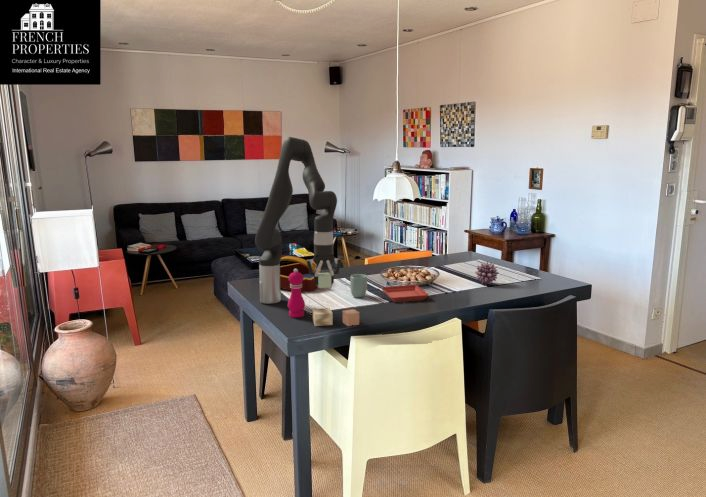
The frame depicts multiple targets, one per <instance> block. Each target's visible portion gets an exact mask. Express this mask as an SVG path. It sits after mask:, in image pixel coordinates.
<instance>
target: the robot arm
mask: <svg viewBox="0 0 706 497" xmlns="http://www.w3.org/2000/svg"><path fill="white" fill-rule="evenodd" d="M291 161H294V162H295V161H296V162H300V163H302V165H303V166H304V168H303V171H302V180H303V183H304V185H305V187H306V189H307V191H308V199H309V205H310V207H311V208H312V209H314V210H315V211H320V210H321V211H322V210H324V212H323V213H322V214H319V215H317V216H315V217H314V222H313V223H314V225H313V226H314V233H313V258H311V259H305V260H306V262H307V266H308V270H309V273H310V275H313V276H314V283H315V284H316V286H318V273H319V271H320V269H321V270H322V269H328V272H329V273H330V274H331V286H333V284H334V282H335V279H334V278H335V275H338V274H339V273H340V269H341V264H342V260H341V258H338V257H337V258H336V257H335V256H334V233H333V231H334V230H333V229H334V228H333V226H334V224H333V220H334V217H335V212H336V209H337V203H338V197H337V195H336V193H335V191H332V190H325V189H326V183H325V182H324V180H323V178H322V176H321V174H320V172H319V170H318V168H317V164H316V161H315V158H314V153H313V150H312V147H311V145H310V143H309V142H308V141H307V140H305V139H301V138H297V137H293V136H287V137H286V138H285V139H284V140H283V142H282V144H281V149H280V155H279V158H278V163H277V169H276V172H275V175H274V179H273V183H272V186H271V189H270V192H269V195H268V200H267V203H266V206H265V209H264V212H263V215H262V219H261V221H260V224H259V227H258V229H257V230H256V233H255V238H254V244H255V247H256V248H257V249H258V250H259V251H263V253H262V255H261V256H260V257H259V259H258V265H259V266H258V268H259V269H258V270H259V271H258V272H259V274H258V275H259V303H260V304H269V305H270V304H277V303H281V301H282V300H281V299H282V298H281V297H282V295H281V288H280V267H281V261H280V259H281V258H282V255H283V254H282V251H283V250H282V248H283V240H282V239H283V238H282V234H281V232H280V230H279V229H277V224H278V222H279V221H280V219H281V218H282V217H283V215H284V214H285V213H286V211H287V210H288V208H289V206H290V202H291V199H292V196H293V192H294V191H293V190H294V188H293V185H292V181H291V177H290V172H289V171H290V164H291ZM313 262H315V264H316V268H315V272H313V271H312V267H311V265H312V264H313ZM333 263H335V266H334V270H333V268H332V264H333Z"/></svg>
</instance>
